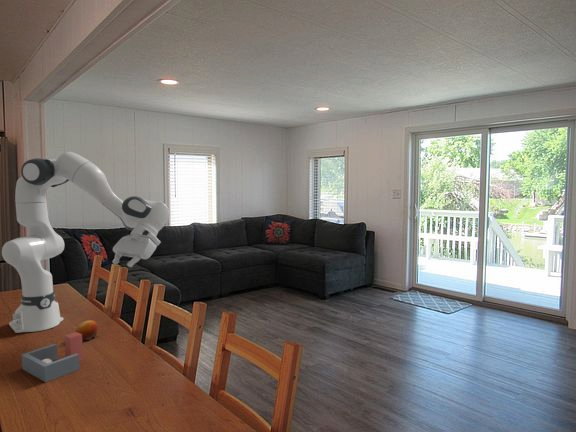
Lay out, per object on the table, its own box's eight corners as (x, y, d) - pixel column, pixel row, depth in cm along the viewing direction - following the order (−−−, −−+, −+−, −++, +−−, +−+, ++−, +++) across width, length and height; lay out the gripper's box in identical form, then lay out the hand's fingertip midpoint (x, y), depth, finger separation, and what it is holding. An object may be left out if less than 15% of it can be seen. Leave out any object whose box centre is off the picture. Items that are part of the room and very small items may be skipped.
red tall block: (65, 361, 139) (64, 335, 139) (77, 356, 143) (75, 331, 142) (71, 364, 137) (70, 338, 136) (83, 359, 140) (81, 334, 139)
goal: (22, 369, 134) (21, 354, 133) (55, 357, 142) (54, 343, 142) (45, 382, 125) (44, 366, 124) (79, 369, 133) (78, 354, 133)
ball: (45, 371, 134) (33, 368, 131) (51, 358, 135) (40, 355, 132) (51, 374, 132) (39, 371, 129) (57, 362, 133) (46, 359, 130)
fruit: (93, 339, 154) (82, 321, 155) (78, 348, 156) (68, 330, 156) (107, 331, 162) (96, 314, 163) (92, 340, 164) (82, 323, 164)
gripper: (121, 229, 166) (100, 257, 159) (153, 232, 154) (131, 262, 147) (132, 239, 170) (111, 266, 163) (163, 242, 158) (143, 272, 151)
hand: (121, 264), depth 155 cm, fingers open, 8 cm apart
